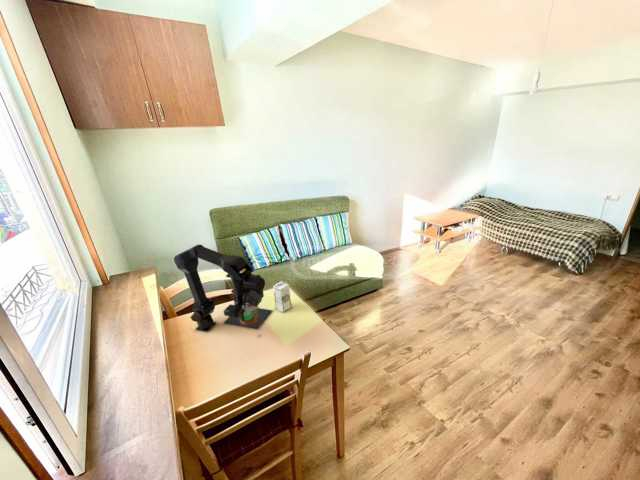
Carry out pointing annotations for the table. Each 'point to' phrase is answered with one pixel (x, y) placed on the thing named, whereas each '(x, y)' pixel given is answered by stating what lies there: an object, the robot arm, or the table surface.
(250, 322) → the food container
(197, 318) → the robot arm
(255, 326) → the desk pad
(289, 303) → the syrup box
